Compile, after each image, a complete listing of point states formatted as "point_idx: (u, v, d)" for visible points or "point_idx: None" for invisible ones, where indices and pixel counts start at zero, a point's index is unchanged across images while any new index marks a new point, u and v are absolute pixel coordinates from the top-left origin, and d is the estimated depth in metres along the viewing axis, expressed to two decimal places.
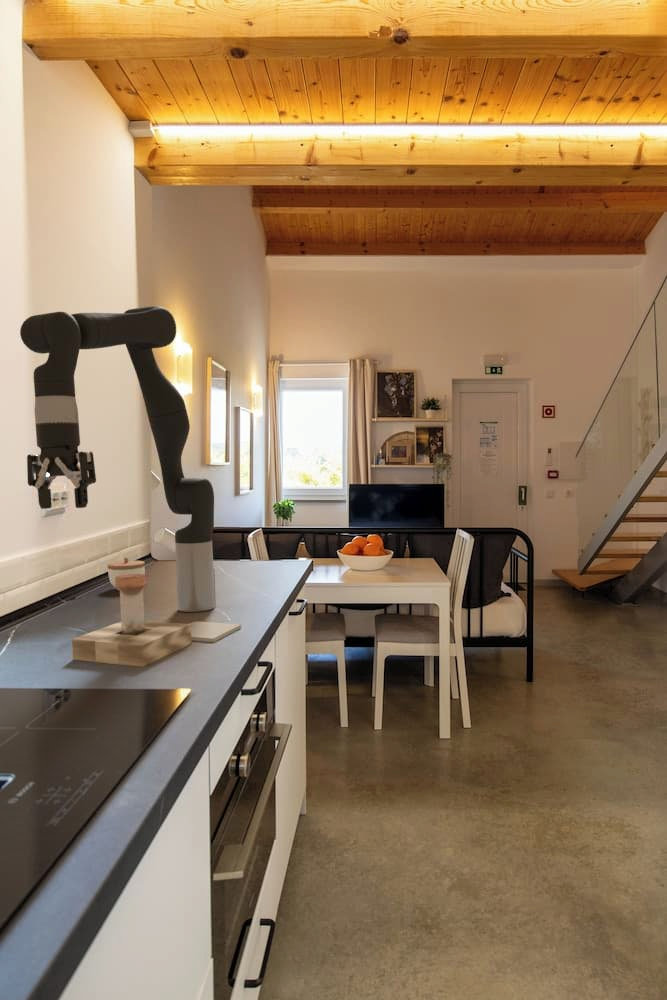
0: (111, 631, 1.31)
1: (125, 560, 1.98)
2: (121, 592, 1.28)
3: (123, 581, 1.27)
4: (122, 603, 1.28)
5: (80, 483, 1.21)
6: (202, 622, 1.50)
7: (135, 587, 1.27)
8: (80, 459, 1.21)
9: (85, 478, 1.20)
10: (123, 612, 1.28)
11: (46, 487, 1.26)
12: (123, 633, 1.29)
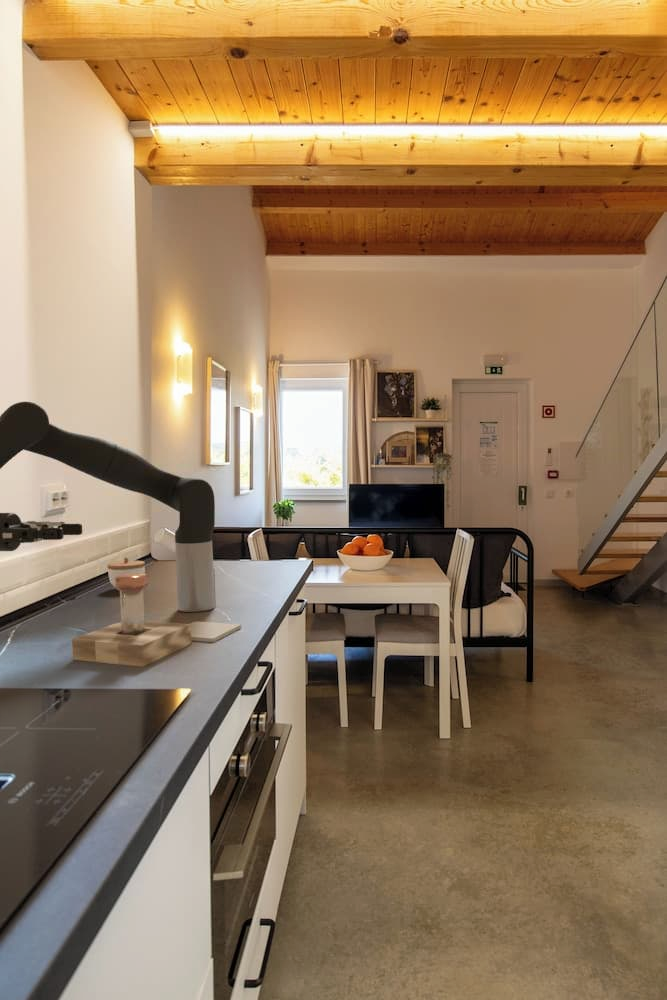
0: (111, 631, 1.31)
1: (125, 560, 1.98)
2: (121, 592, 1.28)
3: (123, 581, 1.27)
4: (122, 603, 1.28)
5: (36, 539, 1.23)
6: (202, 622, 1.50)
7: (135, 587, 1.27)
8: None
9: (27, 541, 1.22)
10: (123, 612, 1.28)
11: (61, 528, 1.32)
12: (123, 633, 1.29)
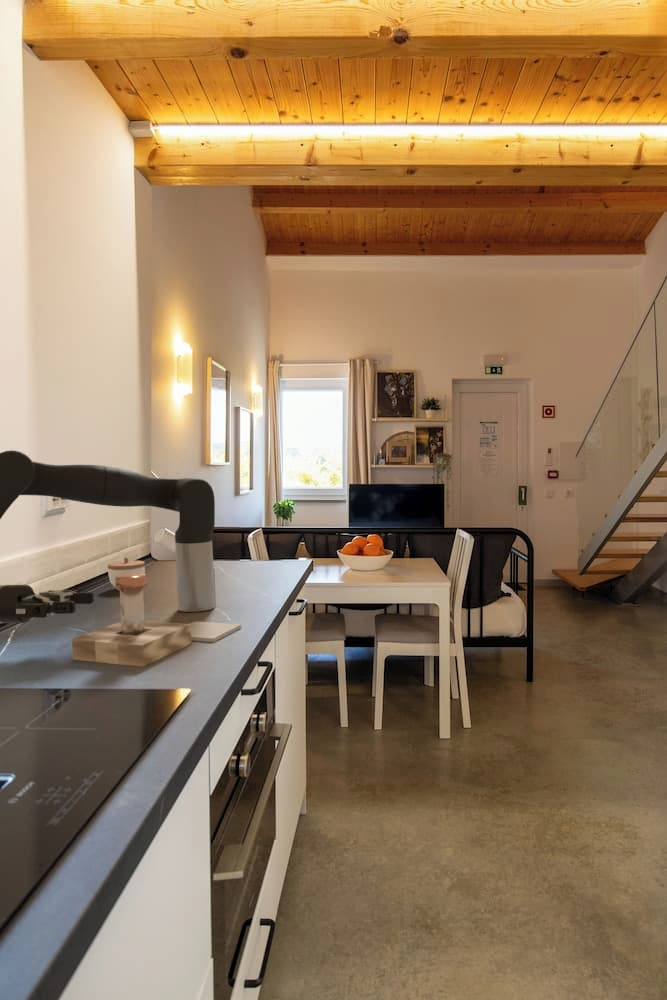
0: (111, 631, 1.31)
1: (125, 560, 1.98)
2: (121, 592, 1.28)
3: (123, 581, 1.27)
4: (122, 603, 1.28)
5: (49, 613, 1.25)
6: (202, 622, 1.50)
7: (135, 587, 1.27)
8: None
9: None
10: (123, 612, 1.28)
11: (73, 597, 1.35)
12: (123, 633, 1.29)
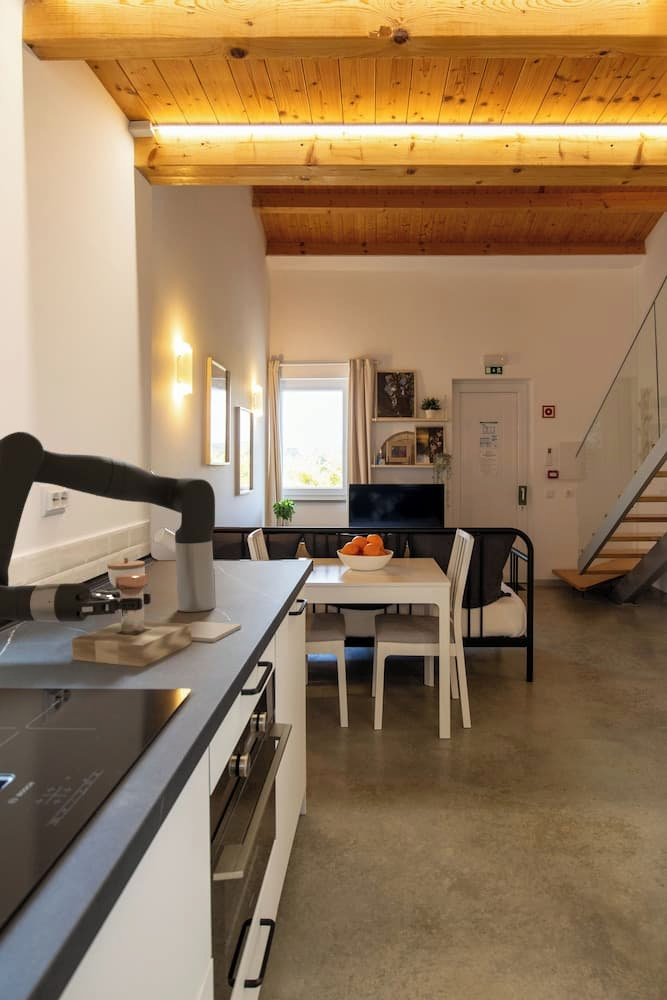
0: (111, 631, 1.31)
1: (125, 560, 1.98)
2: (121, 592, 1.28)
3: (123, 581, 1.27)
4: None
5: (116, 610, 1.26)
6: (202, 622, 1.50)
7: (135, 587, 1.27)
8: None
9: (109, 613, 1.25)
10: (123, 612, 1.28)
11: None
12: (123, 633, 1.29)
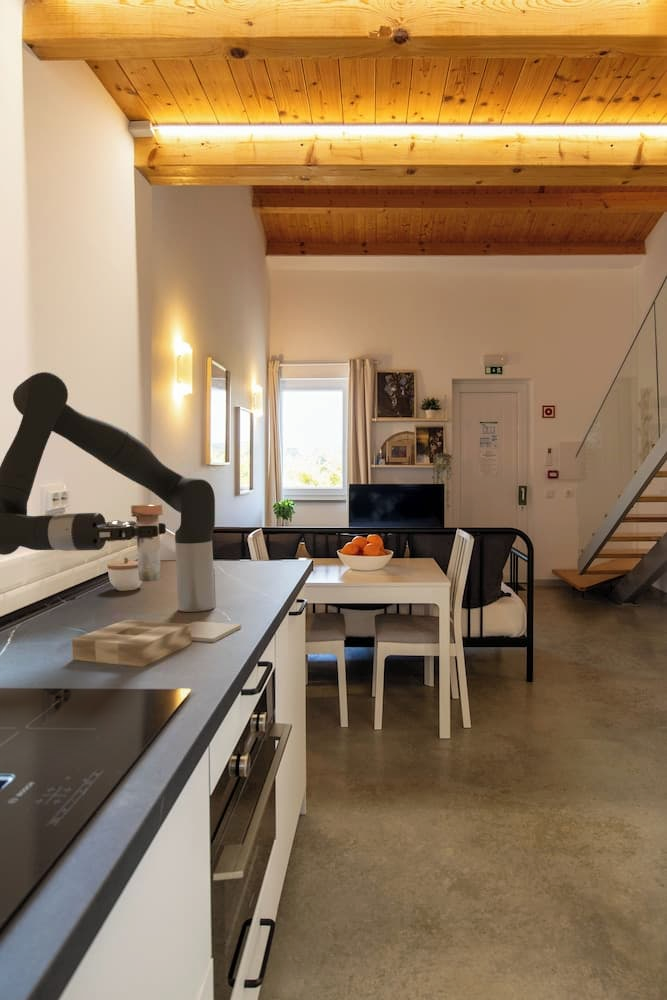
0: (111, 631, 1.31)
1: (125, 560, 1.98)
2: (137, 520, 1.30)
3: (139, 509, 1.29)
4: None
5: (133, 536, 1.29)
6: (202, 622, 1.50)
7: (151, 514, 1.29)
8: None
9: (126, 539, 1.27)
10: (139, 539, 1.30)
11: None
12: (139, 560, 1.31)
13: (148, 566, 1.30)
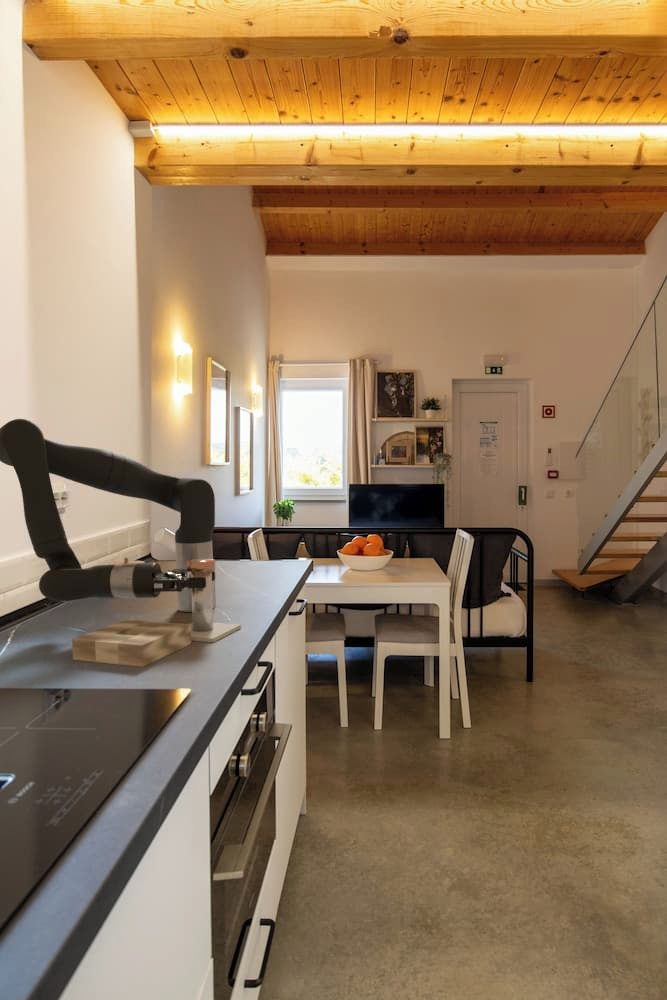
0: (111, 631, 1.31)
1: (125, 560, 1.98)
2: (192, 575, 1.41)
3: (195, 565, 1.39)
4: None
5: (183, 588, 1.38)
6: None
7: (206, 570, 1.40)
8: None
9: (177, 591, 1.36)
10: (194, 593, 1.41)
11: None
12: (194, 612, 1.41)
13: (202, 617, 1.41)
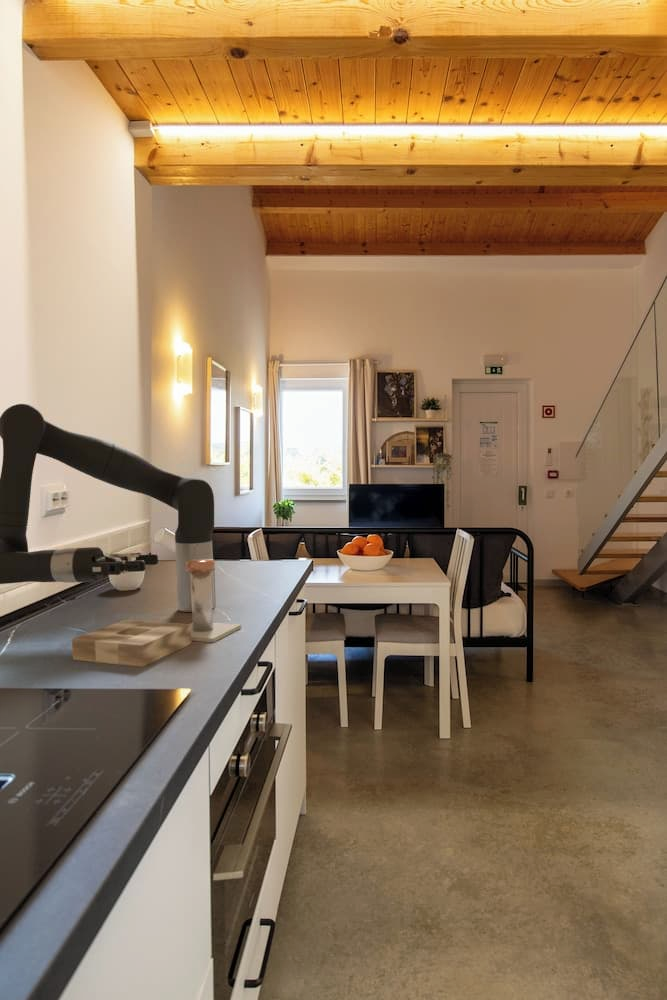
0: (111, 631, 1.31)
1: None
2: (192, 575, 1.41)
3: (195, 565, 1.39)
4: (193, 585, 1.41)
5: (122, 571, 1.38)
6: None
7: (205, 570, 1.40)
8: None
9: None
10: (194, 593, 1.41)
11: (139, 558, 1.47)
12: (194, 612, 1.41)
13: (202, 617, 1.41)
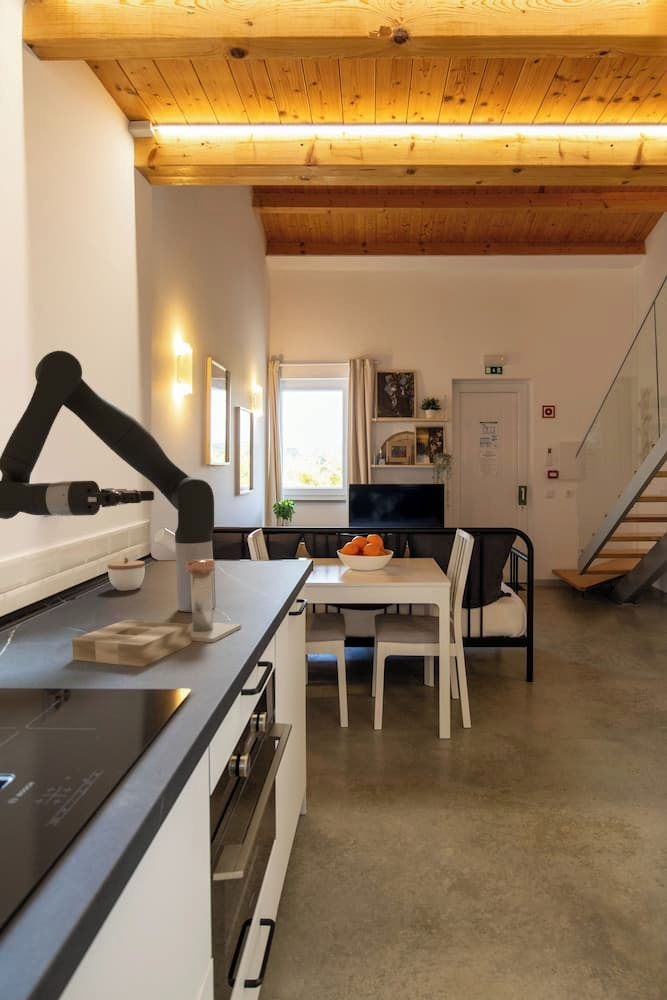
0: (111, 631, 1.31)
1: (125, 560, 1.98)
2: (192, 575, 1.41)
3: (195, 565, 1.39)
4: (193, 585, 1.41)
5: (117, 502, 1.37)
6: None
7: (205, 570, 1.40)
8: None
9: (110, 504, 1.36)
10: (194, 593, 1.41)
11: None
12: (194, 612, 1.41)
13: (202, 617, 1.41)
